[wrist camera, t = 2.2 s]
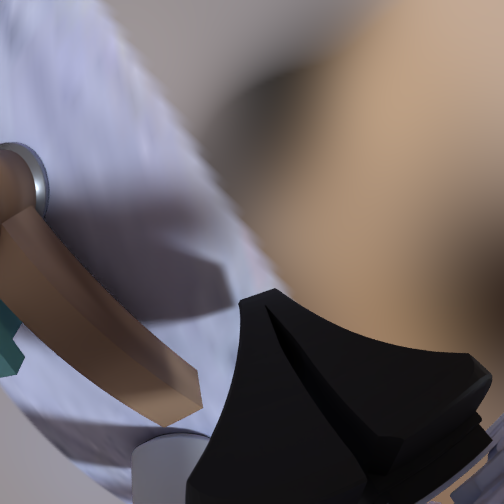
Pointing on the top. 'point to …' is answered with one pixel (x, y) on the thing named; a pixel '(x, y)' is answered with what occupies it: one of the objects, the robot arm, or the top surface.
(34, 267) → the latch bar
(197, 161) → the top surface
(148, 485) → the beverage can
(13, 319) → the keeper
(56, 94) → the top surface
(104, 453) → the top surface
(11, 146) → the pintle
